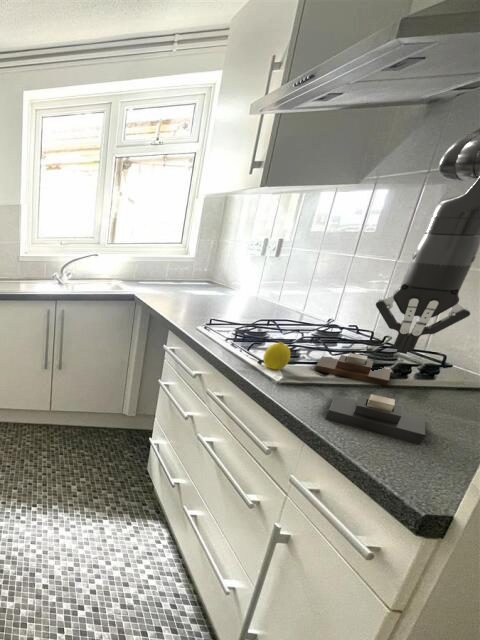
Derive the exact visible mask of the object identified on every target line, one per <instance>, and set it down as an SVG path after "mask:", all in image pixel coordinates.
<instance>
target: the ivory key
mask: <svg viewBox="0 0 480 640" xmlns="http://www.w3.org/2000/svg"><path fill="white" fill-rule="evenodd" d="M368 398H369V400H368V403H367V406H370V407H374V408H378V409H382V410H386V411H390V412H392V409H393V407H394V404H396V399H394V398H389V397H385V396H381V395H377V394H372V393H371V394H370V395H369V397H368Z"/></svg>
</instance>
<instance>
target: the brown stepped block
mask: <svg viewBox="0 0 480 640" xmlns="http://www.w3.org/2000/svg"><path fill="white" fill-rule="evenodd" d="M347 357H348V355H344V354H340V356H339V358H333V357H328V356H323V355H322V356H321V357H320V359H319V360H318V362H317V363H316V365H315V367H314V371H316V372H321V373H325V374H329V375H334V376H339V377H342V378H343V377H344V378H349V379H353V380H357V381H362V382H367V383H372V384H377V385H381V386H388V383H389V382H390V378H391V377H390V376H391V371H392V369H389V368H384V367H381V368H382V369H378V370H374V371H372V370H371V368H372V366H374V365H373V364H374V360H370V359H367V360H366V362H365V364H364V365H363V364H358V363H352V362H347V361H346V359H347Z"/></svg>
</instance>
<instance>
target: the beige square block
mask: <svg viewBox="0 0 480 640" xmlns="http://www.w3.org/2000/svg"><path fill="white" fill-rule="evenodd" d="M347 356H348V357H347V359H346V361H347V362H352V363H358V364H363V365H364V364H365V362H366V360H368V355H363V354H358V353H352V352H349V353H348V355H347Z"/></svg>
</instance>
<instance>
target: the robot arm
mask: <svg viewBox="0 0 480 640" xmlns="http://www.w3.org/2000/svg"><path fill="white" fill-rule="evenodd" d="M438 172H439V174H440V176H441V177H442V178H443V179H445V180H447V181H453V182H468V181H470V182H471V181H473V182H474V181H475V182H474V183H473V184H472V185H471V186H470V187H469V188H468V190H466V191H465V192H464V193H463V194H460V195H455V196H451V197H447V198H444V199H442V200H440V201H438V203H437V204H436V205H435V208H434V210H432V213H431V216H430V218H429V220H428V223H427V225H426V228H425V230H424V233H423V235H422V237H421V239H420V240H419V242H418V243H417V246H416V248H415V250H414V253H412V256H411V259H410V262H409V264H408V267H407V269H406V272H405V274H404V276H403V279H402V282H401V284H400V286H399V287H398V289H397V290H395V291H394V293H393V294H392V295H391V296H388V297H386V298H383V299H378V300H377V301H376V302H375V307H376V308H377V310H378V312H379V313H380V316H381V317H382V319H383V320H384V322H385V324H386V325H387V327H388V329H390V330H394V331H396V332H397V336H396V337H395V340H394V343H393V350H395V353H397V354H405V355H407V353H408V352H409V353H411V352H413V351H414V350H415V348H416V345H417V343H418V341H419V340H420V339H419V338H420V337H422V336H424V335H435V334H437V333H439V332H441V331H443V330H445V329H446V328H449V327H451V326H453V325H454V324H456V323H459V322H461V321H462V320H464V319H466V318H468V317H469V316H470V315H471V312H470V310H469V309H468V308H466V307H464V306H463V305H461V304H460V303H459V302H460V297H459V293H460V290H461V288H462V286H463V284H464V282H465V280H466V277H467V276H468V273H469V271H470V269H471V267H472V264H473V263H474V262H475V260H476V258H477V254H478V252H479V249H480V127H479V128H477V129H475V130H473V131H471V132H469V133H467V134H465V135H463V136H462V137H460V138H459V139H457V140H456V141H455V142H453V144H451V145H450V146H449V147H448V148H447V149H446V151H445V152H444V153H443V154H442V156H441V157H440V160H439V162H438ZM394 302H395V304H396V306H397V308H398V309H399V311H400V313H401V314H402V315H403V317H402V321H401V322H398V321H397V319H396V318H395V316H394V314H393V312H392V311H391V309H392V308H393V307H394V304H393V303H394ZM447 310H449V311H448V313H447V314H448V315H447V316H445V317H443V318H442V319H439V320H438V321H436V322H434V323H432V324H430V325H428V326H427V324H428V323H429V321H430V319H431V318H435V317H437V316H440V314H443V313H444V312H446V311H447ZM415 317H417V320H416V321H415V323H414V325H413V328H412V329H411V332H410V328H411V326H412V323H413V320H414V318H415Z"/></svg>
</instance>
